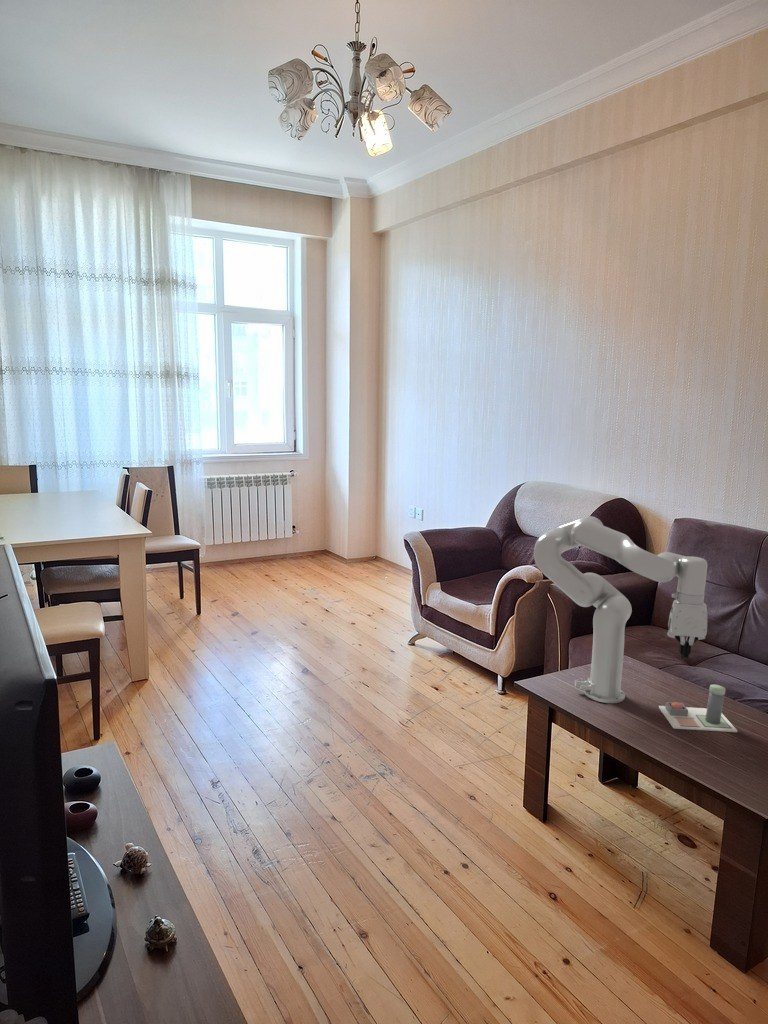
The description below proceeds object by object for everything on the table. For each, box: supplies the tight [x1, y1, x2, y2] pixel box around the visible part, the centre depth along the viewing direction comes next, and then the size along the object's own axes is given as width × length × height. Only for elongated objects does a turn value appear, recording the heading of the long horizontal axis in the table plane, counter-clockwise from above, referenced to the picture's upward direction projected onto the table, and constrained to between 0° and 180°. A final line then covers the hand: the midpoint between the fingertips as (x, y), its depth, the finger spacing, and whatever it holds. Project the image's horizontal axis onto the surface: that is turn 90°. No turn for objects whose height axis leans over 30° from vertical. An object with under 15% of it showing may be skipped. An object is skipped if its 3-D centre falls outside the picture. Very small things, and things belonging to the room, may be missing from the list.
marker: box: [705, 684, 727, 724], centre depth 202 cm, size 4×4×11 cm
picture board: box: [658, 701, 738, 733], centre depth 205 cm, size 18×14×2 cm
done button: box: [671, 701, 683, 709], centre depth 209 cm, size 3×3×2 cm
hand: (684, 656), depth 207 cm, fingers closed
